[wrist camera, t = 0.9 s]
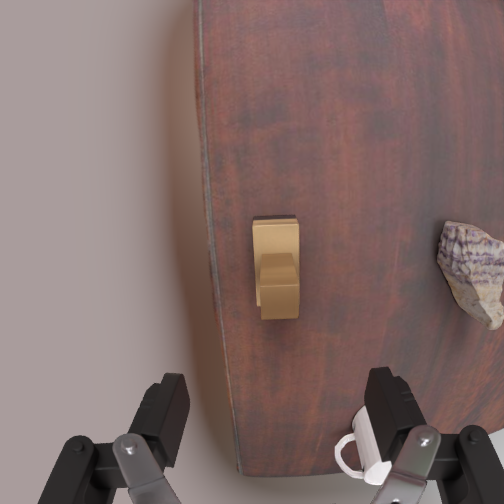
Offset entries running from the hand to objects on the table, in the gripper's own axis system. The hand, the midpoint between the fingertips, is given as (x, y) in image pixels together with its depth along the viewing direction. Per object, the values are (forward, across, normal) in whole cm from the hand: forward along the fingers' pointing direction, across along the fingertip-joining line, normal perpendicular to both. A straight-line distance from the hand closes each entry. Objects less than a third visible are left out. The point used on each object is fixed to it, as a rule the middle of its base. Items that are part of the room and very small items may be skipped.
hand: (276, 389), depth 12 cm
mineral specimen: (+17, -21, +1) cm, 27 cm away
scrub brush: (+17, 0, 0) cm, 17 cm away
